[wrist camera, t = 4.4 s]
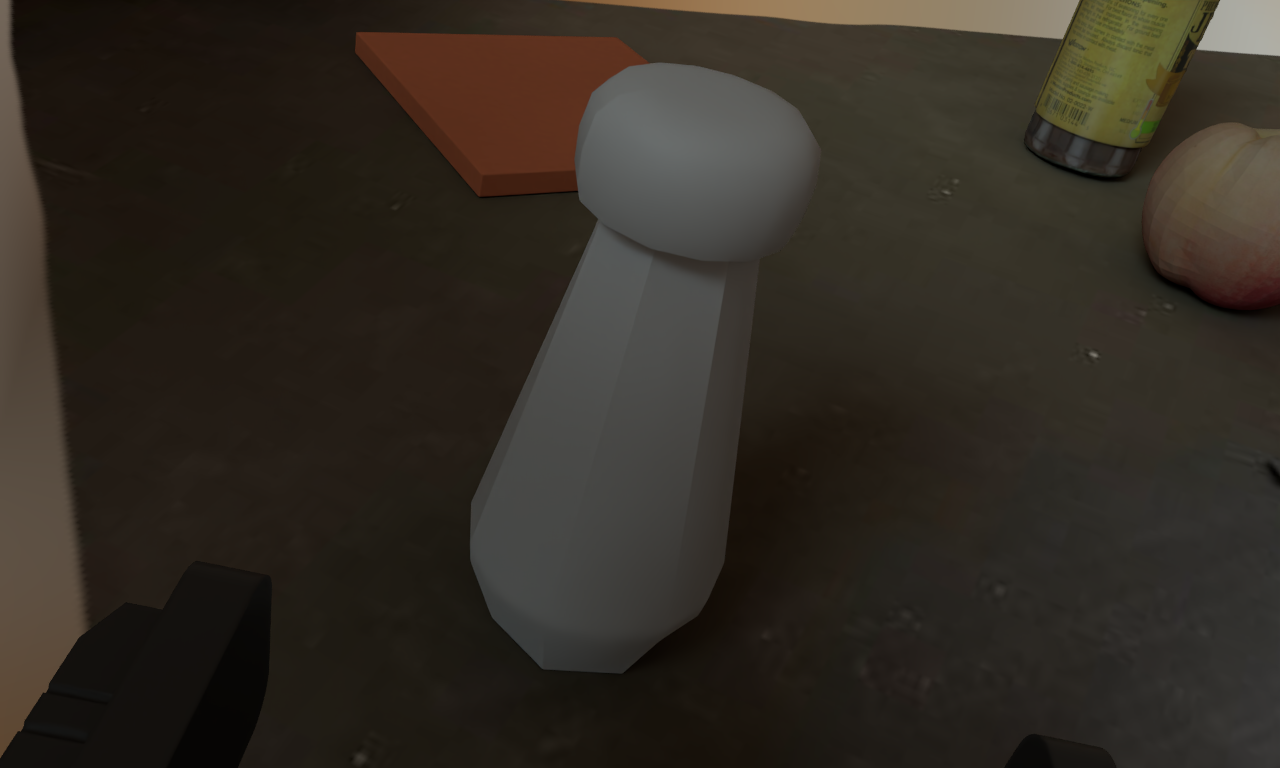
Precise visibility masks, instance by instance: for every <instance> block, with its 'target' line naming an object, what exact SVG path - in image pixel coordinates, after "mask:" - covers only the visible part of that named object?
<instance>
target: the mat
mask: <svg viewBox="0 0 1280 768" xmlns="http://www.w3.org/2000/svg"><path fill="white" fill-rule="evenodd" d="M355 53H356V54H357V55H358V56H359V58H360V59H361V60H362V61H363V62H364V63H365V65H366V66H367V67H368V68H369V69H370V70H371V72H372V73H373V74H374V75H375V76H376V77H377V79H378V80H379V81H380V82H381V83H382V84H383V86H384V87H385V88H386V89H387V90H388V91H389V93H390V94H391V95H392V96H393V97H394V98H395V100H396V101H397V102H398V103H399V104H400V105H401V107H402V108H403V109H404V110H405V111H406V112H407V114H408V115H409V116H410V117H411V118H412V119H413V121H414V122H415V123H416V124H417V125H418V126H419V128H420V129H421V130H422V131H423V132H424V133H425V135H426V136H427V137H428V138H429V139H430V140H431V142H432V143H433V144H434V145H435V146H436V147H437V149H438V150H439V151H440V152H441V153H442V154H443V156H444V157H445V158H446V159H447V160H448V161H449V163H450V164H451V165H452V166H453V167H454V168H455V170H456V171H457V172H458V173H459V174H460V175H461V177H462V178H463V179H464V180H465V181H466V182H467V184H468V185H469V186H470V187H471V188H472V190H473V191H474V192H475V193H476V194H477V195H478V196H479V197H489V196H505V195H520V194H536V193H552V192H568V191H578V186H577V178H576V169H575V161H574V158H575V151H576V144H577V137H578V129H579V124H580V122H581V119H582V117H583V114H584V112H585V109H586V107H587V104H588V102H589V99H590V97H591V94H592V92H593V91H595V90H596V89H597V88H598V87H600V86H601V85H602V84H603V83H604V82H606V81H607V80H608V79H609V78H611V77H613V76H614V75H616V74H618V73H619V72H621V71H622V70H624V69H626V68H627V67H629V66H636V65H644V64H650V63H648V62H647V61H646V60H645V59H643V58H642V57H641V56H640V55H638V54H637V53H636V52H634V51H633V50H632V49H631V48H629V47H628V46H627V45H626V44H624V43H623V42H622V41H621V40H619V39H618V38H617V37H569V36H520V35H471V34H422V33H373V32H357V33H356V46H355Z"/></svg>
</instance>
